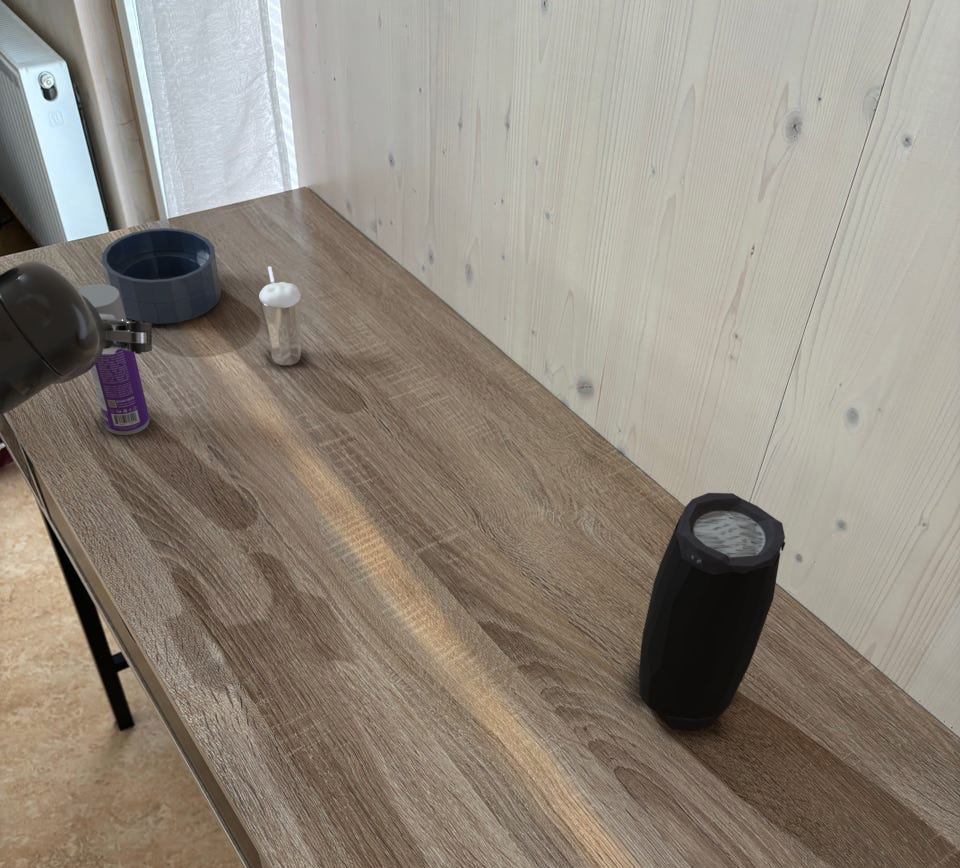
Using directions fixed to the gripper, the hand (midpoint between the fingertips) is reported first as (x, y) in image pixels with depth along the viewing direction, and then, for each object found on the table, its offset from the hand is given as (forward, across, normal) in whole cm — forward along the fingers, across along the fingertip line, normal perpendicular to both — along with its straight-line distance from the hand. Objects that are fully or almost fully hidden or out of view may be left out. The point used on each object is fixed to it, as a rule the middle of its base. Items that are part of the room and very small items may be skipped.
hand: (74, 329), depth 98 cm
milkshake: (+21, -21, +2) cm, 30 cm away
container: (+13, -4, +10) cm, 17 cm away
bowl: (+35, -7, -4) cm, 35 cm away
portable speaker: (-30, -52, +26) cm, 65 cm away
